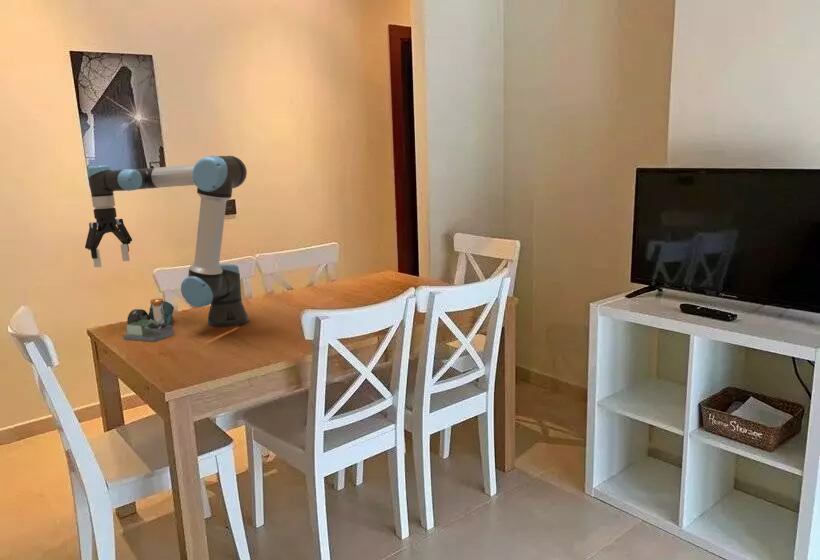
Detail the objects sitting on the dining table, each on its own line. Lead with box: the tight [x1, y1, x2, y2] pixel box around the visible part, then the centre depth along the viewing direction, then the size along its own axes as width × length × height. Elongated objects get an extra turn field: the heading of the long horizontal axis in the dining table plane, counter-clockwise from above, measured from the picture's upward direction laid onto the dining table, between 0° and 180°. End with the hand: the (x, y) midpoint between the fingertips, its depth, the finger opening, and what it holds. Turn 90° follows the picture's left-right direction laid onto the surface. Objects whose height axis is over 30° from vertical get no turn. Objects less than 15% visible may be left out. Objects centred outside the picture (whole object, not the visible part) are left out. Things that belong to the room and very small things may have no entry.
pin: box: [150, 298, 166, 329], centre depth 230 cm, size 4×4×12 cm
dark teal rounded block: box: [147, 300, 175, 325], centre depth 247 cm, size 9×9×9 cm
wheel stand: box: [127, 308, 149, 325], centre depth 238 cm, size 6×8×8 cm
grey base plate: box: [122, 319, 175, 343], centre depth 231 cm, size 14×10×5 cm
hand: (112, 264), depth 242 cm, fingers open, 13 cm apart
